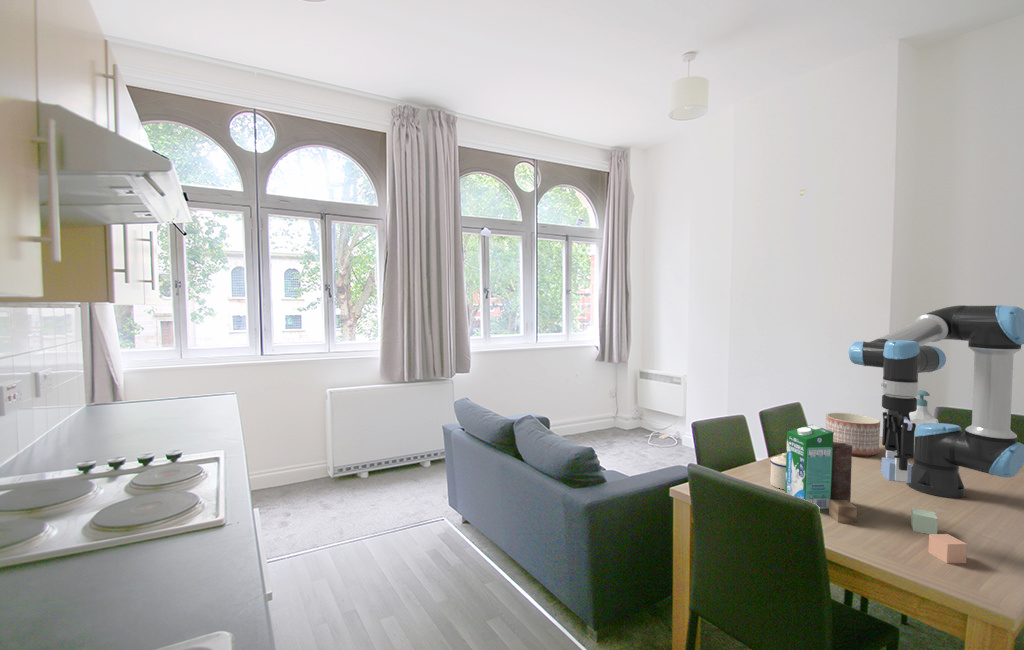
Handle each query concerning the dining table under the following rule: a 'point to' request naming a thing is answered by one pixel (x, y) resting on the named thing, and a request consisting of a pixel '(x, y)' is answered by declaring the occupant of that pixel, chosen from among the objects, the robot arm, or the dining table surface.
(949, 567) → the dining table surface
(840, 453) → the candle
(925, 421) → the soap bottle
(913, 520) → the sage cube
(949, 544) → the terracotta cube
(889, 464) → the slate blue cube
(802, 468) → the milk carton
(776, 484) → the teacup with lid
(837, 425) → the planter
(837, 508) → the walnut cube
